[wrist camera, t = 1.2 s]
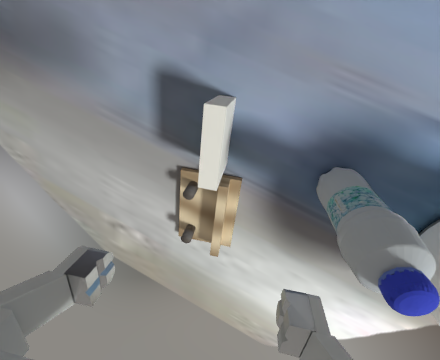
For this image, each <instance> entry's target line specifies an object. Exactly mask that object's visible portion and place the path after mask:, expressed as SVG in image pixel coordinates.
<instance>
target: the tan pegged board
mask: <svg viewBox="0 0 440 360" xmlns="http://www.w3.org/2000/svg"><path fill="white" fill-rule="evenodd" d="M198 177H199V170H194V169H188V168H182V169H181V179H180V209H179V236H181V240H182V241H183V242H184V243H189V242H191V239H195V240H200V241H205V242H210V243H211V251H210V255H212V256H217V257H218V254H219V249H220V245H224V246H229V247H230V244H231V239H232V233H233V227H234V222H235V216H236V211H237V205H238V200H239V194H240V188H241V183H242V178H239V177H233V176H228V175H222V178H221V181H220V183H219V186H218V189H217V191H214V190H209V189H203V188H198Z"/></svg>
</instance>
